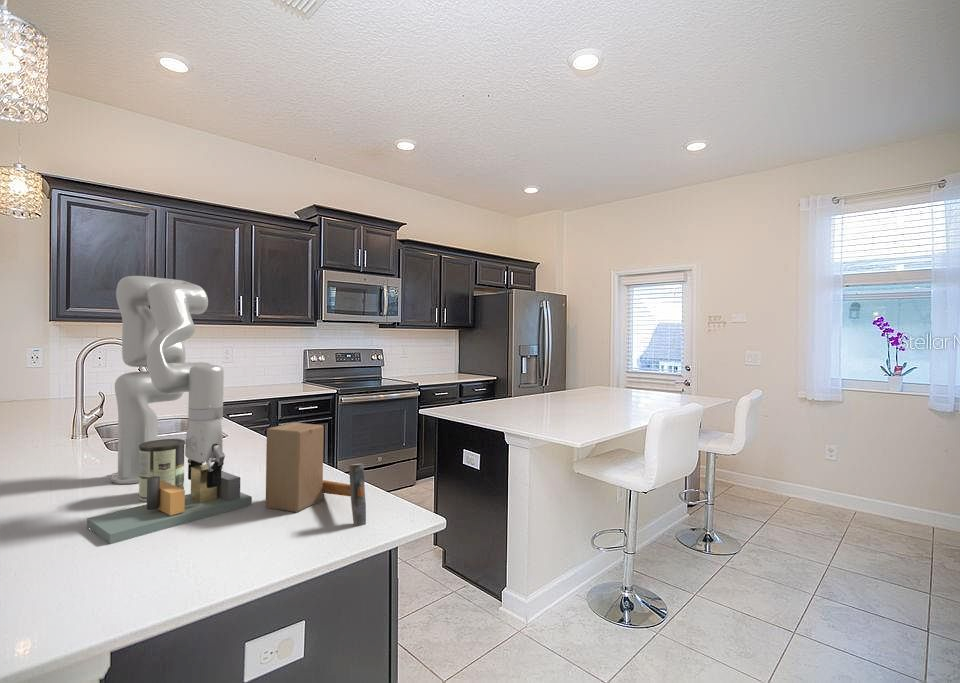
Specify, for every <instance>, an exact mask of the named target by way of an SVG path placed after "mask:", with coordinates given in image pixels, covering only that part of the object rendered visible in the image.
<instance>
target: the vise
mask: <svg viewBox="0 0 960 683" xmlns="http://www.w3.org/2000/svg"><path fill="white" fill-rule="evenodd" d="M252 497H253V496H251V495H248V494H247V493H244V492H241V477H240V476H237V475H235V474H231V473H229V472H227V471H224V470H221V485H220V486H217V499H216V500H212V501H208V502H204V503H198V502H196V501H194V500H191V493H188V494H185V512H182V513H178V514H174V515H168V514H166V513H164V512H162V511H161V510H159V509H154V510H147V503H146V504H142V505H138V506H134V507H130V508H129V507H128V508H124V509H121V510H120V509H119V510H116V511H113V512H108V513H107V512H106V513H103V514H101V515H100V514H99V515H95V516H91V517H86V528H87V527H88V528H87V529H89V528H90V529H91V530H92V532H93V533H94V532H95V533H96V534H95V533H94V534H95V535H97V536H98V535H99V537H100V538H101V539H102V540H104V541H105V542H106V543H108V544H109V545H112V544H115V543H119V542H123V541H127V540H131V539H133V538H137V537H140V536H144V535H147V534H152V533H155V532H157V531H162V530H165V529H166V530H167V529H169V528H172V527H176V526H179V525H183V524H187V523H190V522H194V521H197V520H201V519H205V518H209V517H213V516H216V515H219V514H222V513H225V512H230V511H234V510H236V509H240V508H244V507H247V506H251V505H252V504H253V498H252ZM90 529H89V530H90ZM91 530H90V531H91Z"/></svg>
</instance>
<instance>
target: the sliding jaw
mask: <svg viewBox="0 0 960 683" xmlns="http://www.w3.org/2000/svg"><path fill="white" fill-rule="evenodd" d="M185 495H186V490H185V489H184V490H183V489H181V488H179V487H177V486H174V485H172V484H170V483H167V482H165V481H163V480H162V481H160V477H159V476H153V477H149V478H147V501H146V504H147V510H154V509H159V510H161V511H162V512H164V513H166V514H168V515H174V514H178V513H182V512H185Z"/></svg>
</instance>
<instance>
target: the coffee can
mask: <svg viewBox="0 0 960 683" xmlns="http://www.w3.org/2000/svg"><path fill="white" fill-rule="evenodd" d="M185 445H186V440H185V439H180V438H166V439H165V438H163V439H157V440H154V441H148V442H144V443H142V444H140V445H139V483H138V485H139V486H138V500H140V501H143V502H147V478H149V477H153V476H159V477H160V481H162V480H163V481H165V482H167V483H170V484H172V485H174V486H177V487H179V488H181V489H183V490H185Z"/></svg>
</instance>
